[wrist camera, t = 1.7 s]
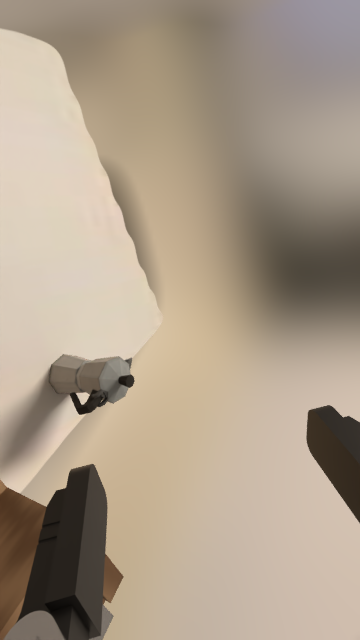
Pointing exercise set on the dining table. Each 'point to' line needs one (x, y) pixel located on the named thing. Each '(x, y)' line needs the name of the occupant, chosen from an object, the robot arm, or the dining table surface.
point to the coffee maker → (91, 379)
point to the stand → (27, 555)
